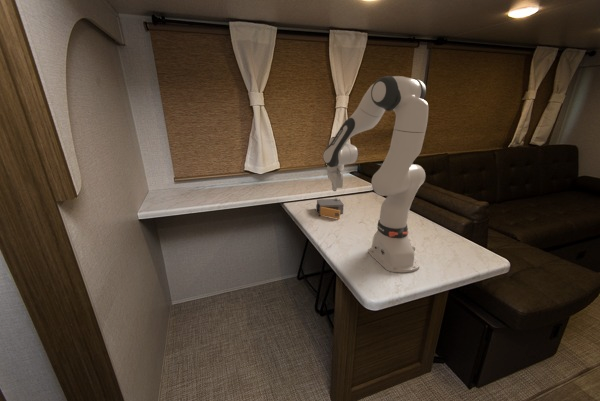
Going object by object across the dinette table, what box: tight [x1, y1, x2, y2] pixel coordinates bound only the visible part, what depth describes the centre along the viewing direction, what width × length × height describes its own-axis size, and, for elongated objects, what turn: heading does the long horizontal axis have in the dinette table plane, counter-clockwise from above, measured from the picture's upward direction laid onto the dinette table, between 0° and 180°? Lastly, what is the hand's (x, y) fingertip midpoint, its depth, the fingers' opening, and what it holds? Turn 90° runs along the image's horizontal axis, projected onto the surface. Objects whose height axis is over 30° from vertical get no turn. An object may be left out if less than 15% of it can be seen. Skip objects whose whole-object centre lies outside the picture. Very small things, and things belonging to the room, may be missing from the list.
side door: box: [318, 207, 341, 220], centre depth 147 cm, size 2×12×5 cm, turn 62°
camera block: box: [315, 197, 345, 215], centre depth 155 cm, size 10×15×7 cm, turn 97°
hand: (334, 190), depth 144 cm, fingers closed
